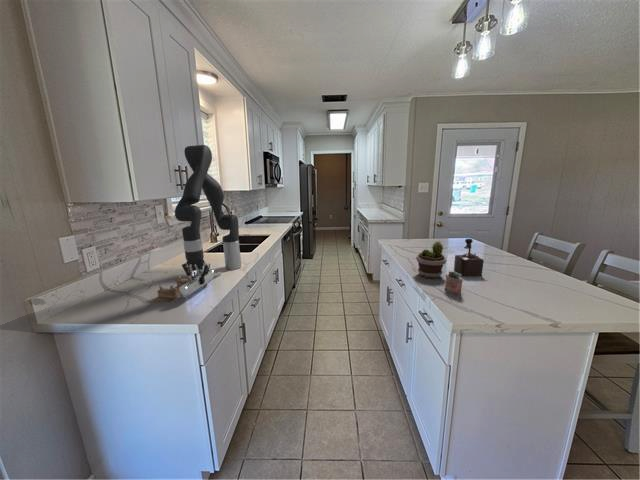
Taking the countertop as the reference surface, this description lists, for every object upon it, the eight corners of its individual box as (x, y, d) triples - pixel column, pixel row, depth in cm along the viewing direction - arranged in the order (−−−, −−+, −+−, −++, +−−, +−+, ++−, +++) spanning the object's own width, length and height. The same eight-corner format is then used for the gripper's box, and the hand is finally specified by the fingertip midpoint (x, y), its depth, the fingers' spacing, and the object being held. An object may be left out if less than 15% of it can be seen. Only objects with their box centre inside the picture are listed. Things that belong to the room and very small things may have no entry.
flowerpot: (422, 281, 130) (425, 243, 126) (411, 271, 145) (413, 237, 141) (450, 280, 131) (454, 242, 126) (436, 270, 146) (438, 236, 141)
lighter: (442, 289, 119) (444, 269, 117) (447, 288, 121) (449, 268, 119) (457, 296, 112) (459, 275, 110) (462, 295, 114) (465, 274, 111)
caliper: (206, 287, 129) (204, 275, 127) (203, 287, 129) (202, 275, 127) (222, 273, 149) (220, 263, 147) (220, 273, 149) (219, 263, 147)
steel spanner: (210, 276, 131) (209, 269, 131) (215, 276, 131) (215, 269, 130) (179, 296, 109) (177, 288, 108) (185, 297, 109) (184, 288, 108)
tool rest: (183, 284, 132) (181, 273, 131) (197, 285, 131) (195, 274, 130) (154, 300, 114) (152, 288, 113) (169, 301, 113) (167, 289, 112)
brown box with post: (483, 276, 135) (487, 243, 131) (462, 276, 135) (466, 244, 131) (467, 267, 150) (470, 237, 146) (448, 267, 150) (451, 237, 146)
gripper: (212, 247, 118) (216, 281, 122) (185, 246, 121) (190, 280, 125) (202, 251, 111) (207, 287, 115) (174, 250, 113) (180, 286, 118)
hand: (198, 283), depth 120 cm, fingers closed on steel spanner, 3 cm apart
